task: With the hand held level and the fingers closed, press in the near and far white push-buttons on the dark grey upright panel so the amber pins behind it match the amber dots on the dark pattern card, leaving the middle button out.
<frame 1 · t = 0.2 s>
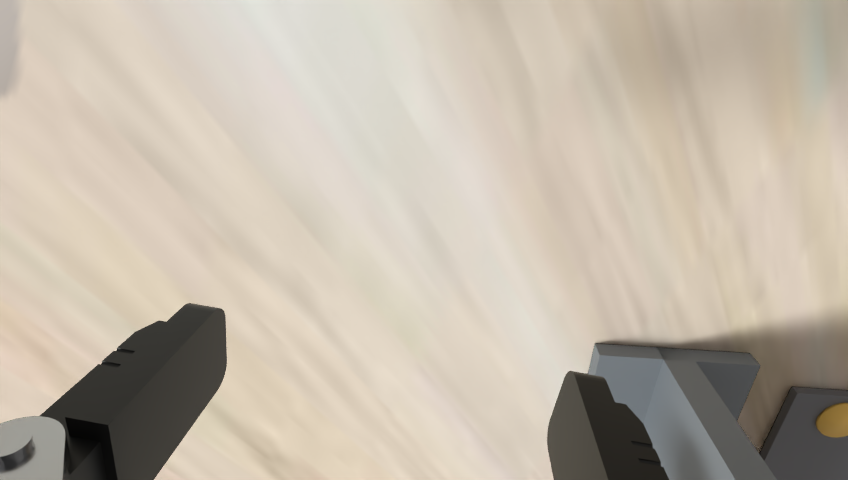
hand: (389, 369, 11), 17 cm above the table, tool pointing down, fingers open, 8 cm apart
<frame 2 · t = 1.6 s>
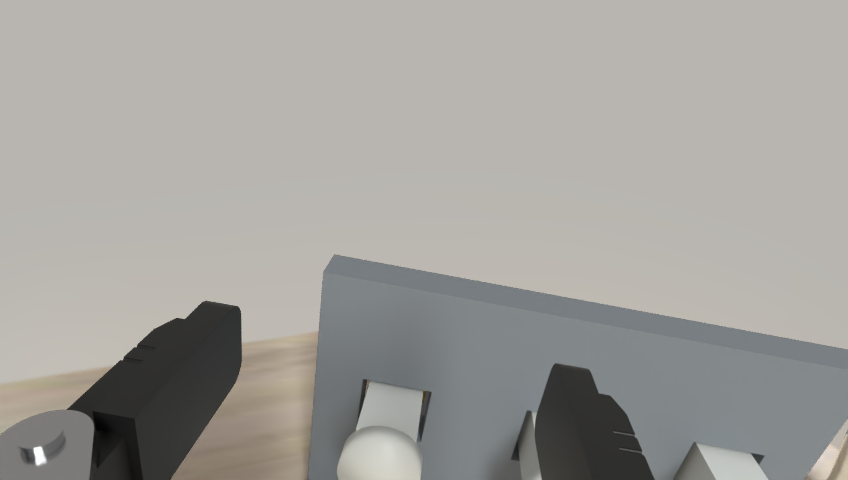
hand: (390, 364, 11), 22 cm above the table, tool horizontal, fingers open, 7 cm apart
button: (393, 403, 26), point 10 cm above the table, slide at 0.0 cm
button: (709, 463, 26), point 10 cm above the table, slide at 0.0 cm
middle button: (550, 432, 26), point 10 cm above the table, slide at 0.0 cm
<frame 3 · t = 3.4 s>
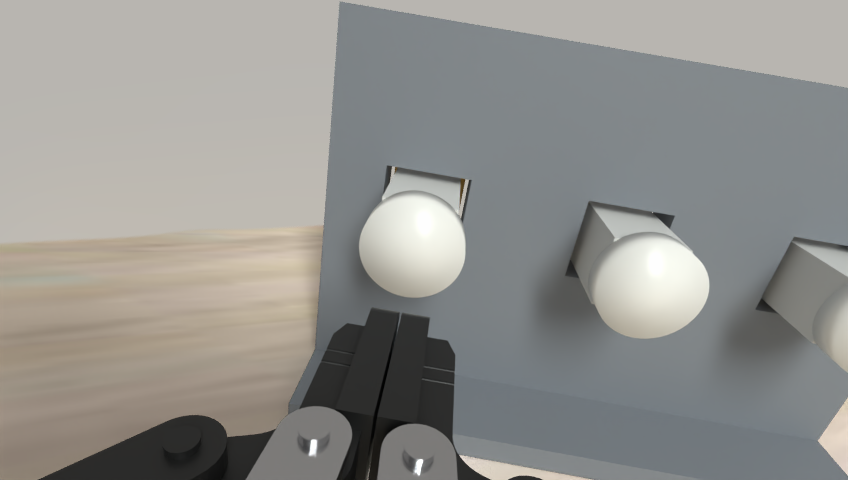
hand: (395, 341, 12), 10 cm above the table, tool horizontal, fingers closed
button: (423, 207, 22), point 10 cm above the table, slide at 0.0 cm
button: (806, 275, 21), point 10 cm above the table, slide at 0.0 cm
middle button: (613, 241, 22), point 10 cm above the table, slide at 0.0 cm
button panel: (554, 398, 26), on the table
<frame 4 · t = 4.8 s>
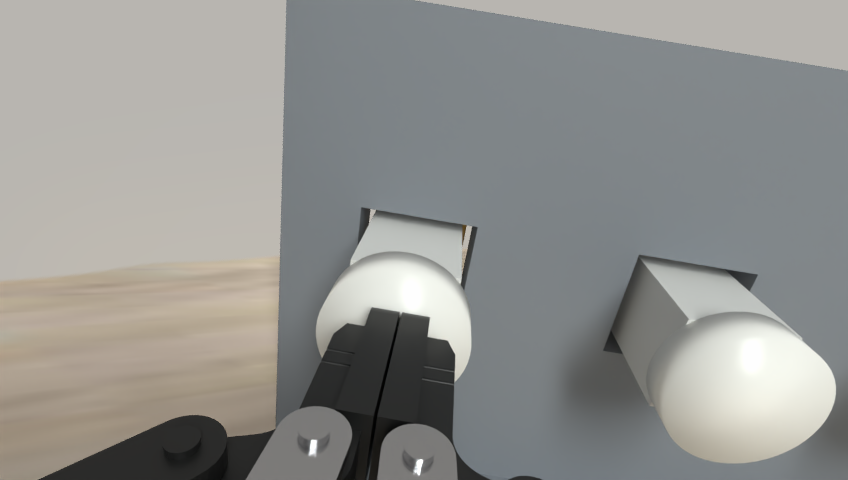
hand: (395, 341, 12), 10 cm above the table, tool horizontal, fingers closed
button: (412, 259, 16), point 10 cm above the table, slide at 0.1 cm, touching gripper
middle button: (668, 304, 16), point 10 cm above the table, slide at 0.0 cm
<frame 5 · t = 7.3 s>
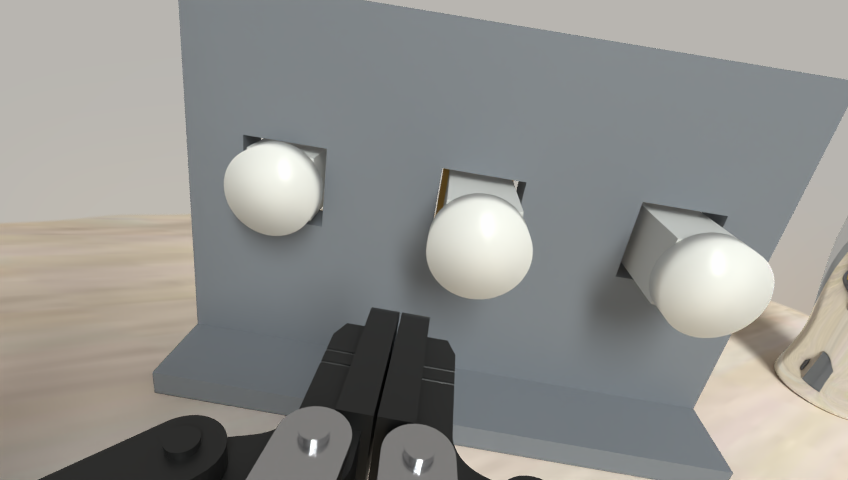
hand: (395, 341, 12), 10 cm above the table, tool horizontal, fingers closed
beer glass: (825, 391, 30), on the table
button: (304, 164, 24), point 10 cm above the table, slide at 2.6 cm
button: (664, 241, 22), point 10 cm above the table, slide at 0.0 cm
middle button: (475, 210, 22), point 10 cm above the table, slide at 0.0 cm
button panel: (441, 371, 26), on the table
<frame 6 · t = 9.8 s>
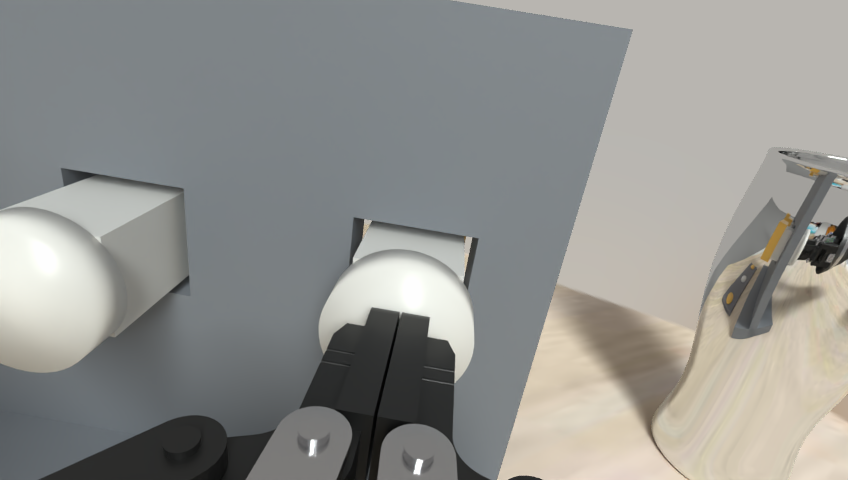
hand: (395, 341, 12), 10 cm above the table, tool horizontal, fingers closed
beer glass: (711, 455, 24), on the table
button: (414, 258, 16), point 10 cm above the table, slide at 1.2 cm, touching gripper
middle button: (141, 227, 15), point 10 cm above the table, slide at 0.0 cm
button panel: (170, 439, 20), on the table
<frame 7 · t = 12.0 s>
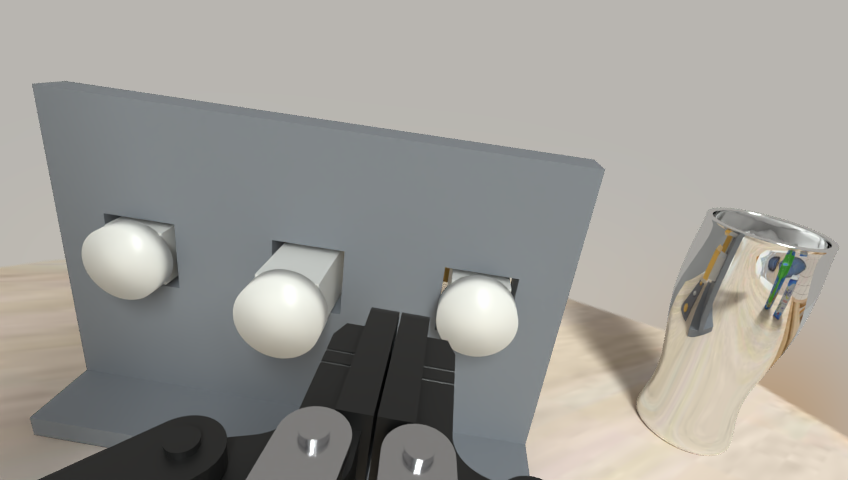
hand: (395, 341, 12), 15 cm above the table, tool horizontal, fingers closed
beer glass: (679, 423, 33), on the table
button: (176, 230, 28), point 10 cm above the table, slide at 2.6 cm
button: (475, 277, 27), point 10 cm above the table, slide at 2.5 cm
middle button: (310, 272, 25), point 10 cm above the table, slide at 0.0 cm
button panel: (307, 409, 29), on the table
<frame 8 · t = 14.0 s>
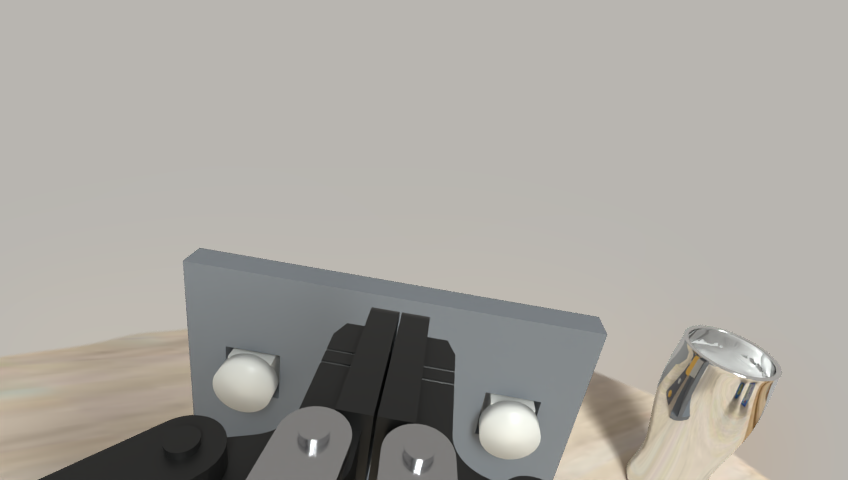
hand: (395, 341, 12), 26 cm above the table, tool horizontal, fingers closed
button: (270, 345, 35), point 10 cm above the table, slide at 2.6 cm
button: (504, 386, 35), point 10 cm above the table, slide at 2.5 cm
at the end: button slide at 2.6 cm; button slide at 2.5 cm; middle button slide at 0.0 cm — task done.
